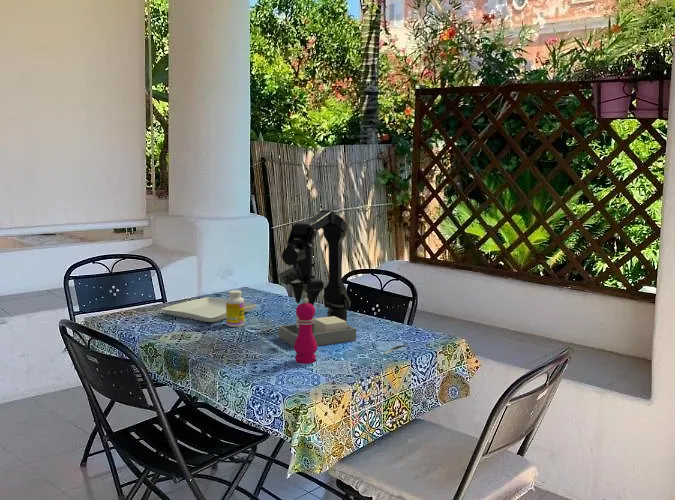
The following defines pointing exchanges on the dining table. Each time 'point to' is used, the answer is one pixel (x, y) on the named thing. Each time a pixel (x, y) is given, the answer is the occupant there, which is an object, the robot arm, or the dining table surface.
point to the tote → (318, 335)
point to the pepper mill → (305, 334)
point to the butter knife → (395, 348)
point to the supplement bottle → (235, 309)
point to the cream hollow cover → (329, 324)
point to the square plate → (203, 309)
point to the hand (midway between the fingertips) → (303, 305)
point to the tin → (297, 325)
